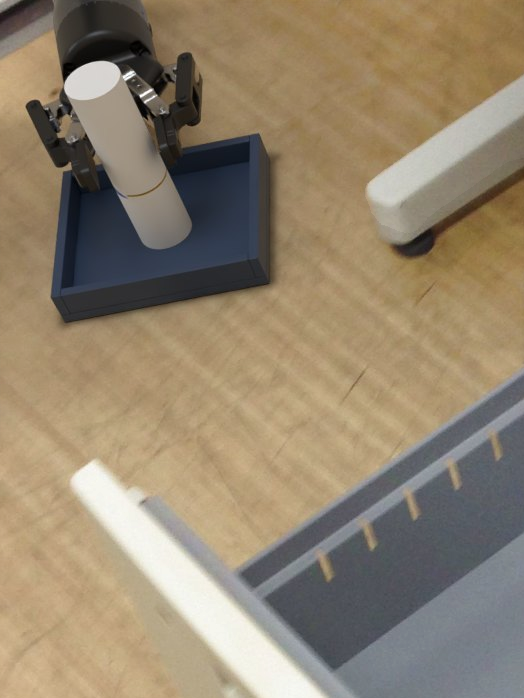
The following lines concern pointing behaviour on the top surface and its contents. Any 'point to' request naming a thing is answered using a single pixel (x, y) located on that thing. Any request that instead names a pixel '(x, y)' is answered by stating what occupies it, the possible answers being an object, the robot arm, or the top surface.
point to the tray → (175, 262)
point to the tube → (128, 153)
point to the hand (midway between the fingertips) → (129, 170)
